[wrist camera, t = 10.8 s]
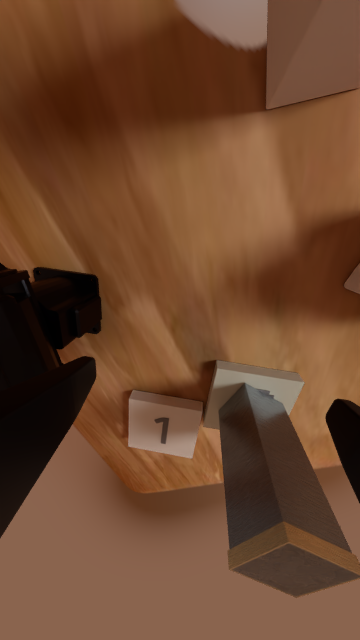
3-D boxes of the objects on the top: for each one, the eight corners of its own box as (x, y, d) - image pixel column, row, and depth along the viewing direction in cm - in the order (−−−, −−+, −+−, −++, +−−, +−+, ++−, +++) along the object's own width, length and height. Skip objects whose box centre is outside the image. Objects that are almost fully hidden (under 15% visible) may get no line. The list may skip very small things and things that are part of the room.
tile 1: (131, 436, 29) (128, 447, 28) (132, 389, 25) (128, 399, 24) (192, 447, 29) (192, 459, 27) (202, 401, 25) (202, 412, 23)
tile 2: (203, 416, 26) (203, 427, 24) (216, 360, 22) (217, 368, 21) (272, 428, 25) (277, 440, 24) (298, 373, 22) (304, 383, 20)
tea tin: (217, 410, 23) (228, 569, 12) (244, 381, 21) (288, 541, 10) (253, 429, 24) (296, 597, 13) (284, 403, 22) (366, 577, 11)
